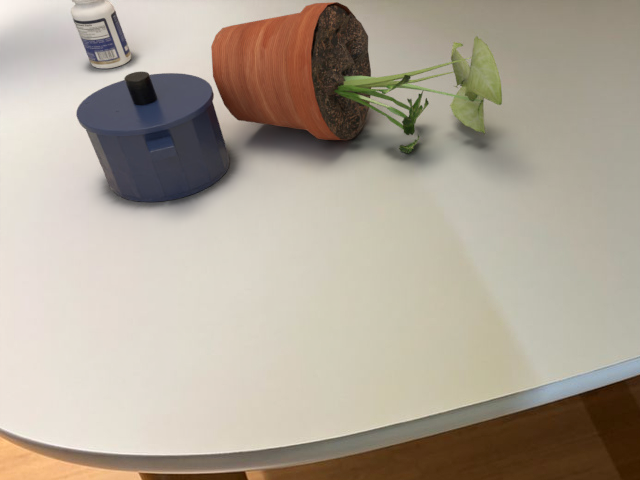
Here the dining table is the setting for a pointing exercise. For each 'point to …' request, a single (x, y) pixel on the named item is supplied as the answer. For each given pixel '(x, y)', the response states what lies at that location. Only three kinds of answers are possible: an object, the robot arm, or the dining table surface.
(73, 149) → the dining table surface
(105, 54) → the pill bottle
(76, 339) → the dining table surface
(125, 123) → the pot lid
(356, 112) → the potted plant
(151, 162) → the pot
